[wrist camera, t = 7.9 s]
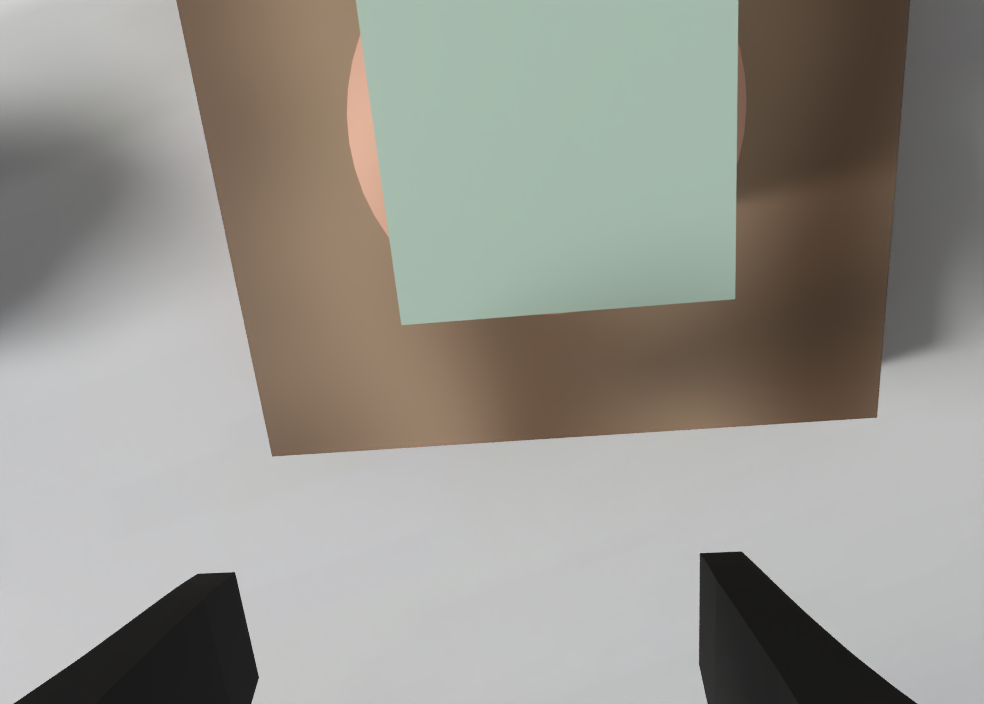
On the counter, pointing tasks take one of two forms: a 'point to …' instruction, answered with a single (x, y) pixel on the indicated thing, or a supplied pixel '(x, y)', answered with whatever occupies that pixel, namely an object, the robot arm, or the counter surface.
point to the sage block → (554, 152)
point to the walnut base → (557, 336)
